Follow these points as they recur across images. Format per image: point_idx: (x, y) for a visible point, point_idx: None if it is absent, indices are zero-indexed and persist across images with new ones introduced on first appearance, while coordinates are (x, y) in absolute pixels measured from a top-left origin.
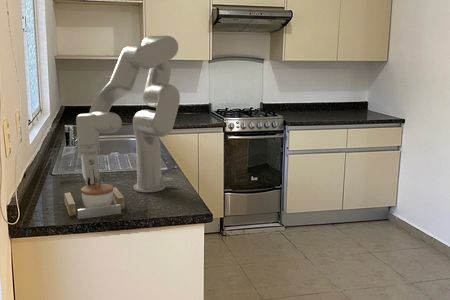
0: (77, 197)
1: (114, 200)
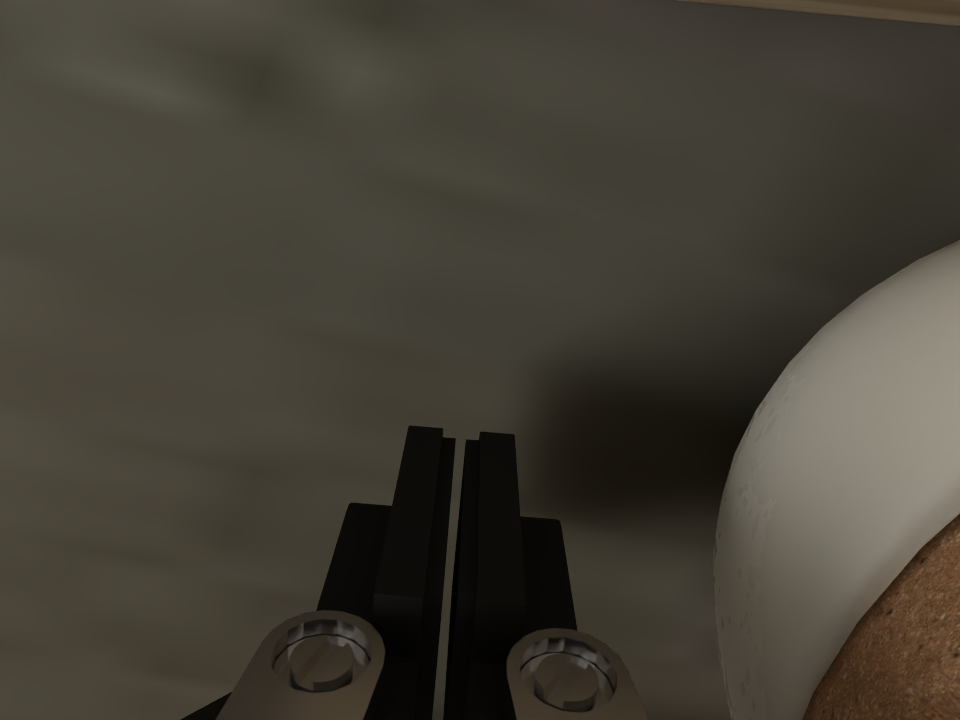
0: (5, 582)
1: (825, 8)
